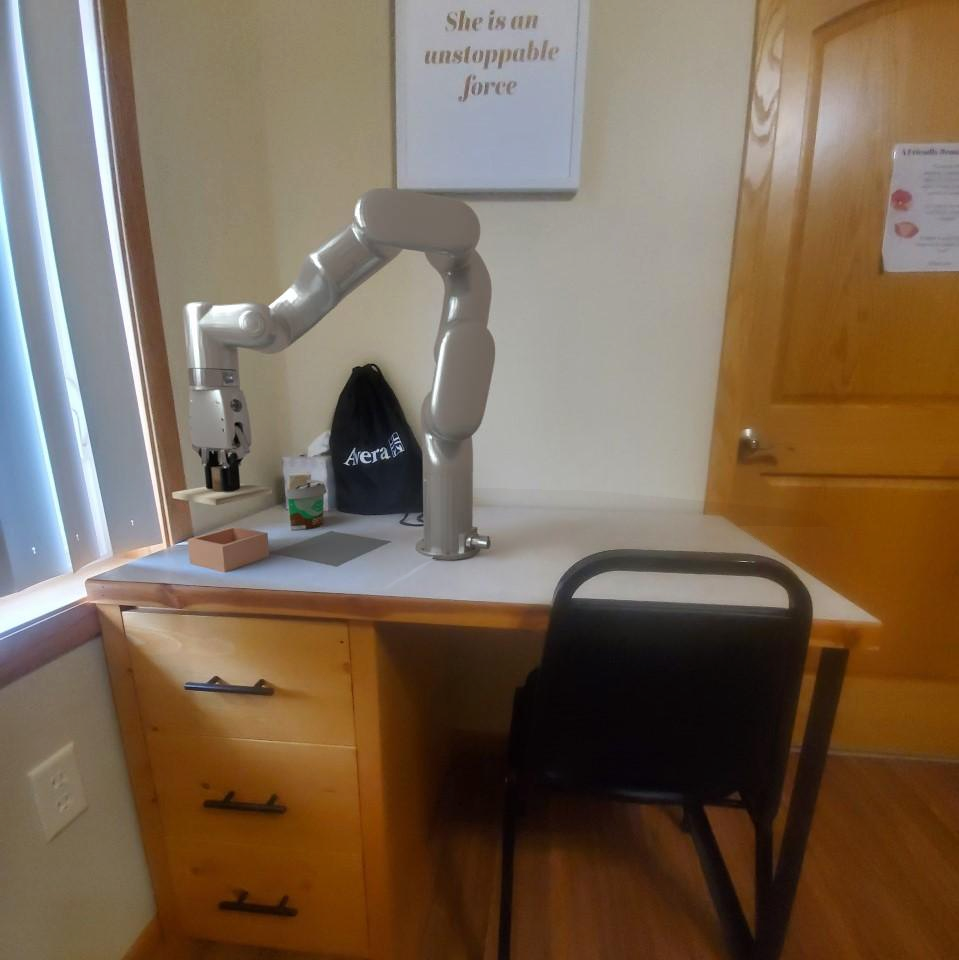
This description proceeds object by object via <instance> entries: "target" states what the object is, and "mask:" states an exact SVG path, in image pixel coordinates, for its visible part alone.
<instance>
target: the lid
mask: <svg viewBox="0 0 959 960" xmlns="http://www.w3.org/2000/svg"><path fill="white" fill-rule="evenodd" d="M220 468H223V466H217V467H212V468H211V472H212V484H213V489H207V488H206V486H201V487H194V488H190V489H184V490H183V489H182V490H179V491H173V492H171V495H172V499H176V500H181V501H182V500H183V501H188V502H194V503H197V504H198V503H199V504H204V505H210V506H220V505H224V504H225V505H226V504H230V503H235V502H238V501H243V500H249V499H252V498H258V497H262V496H266V495H271V494H273V488H272V487H269V486H268V487H267V486H260V485H253V484H246V483H240V489H237V490H232V491H226V492H225V491H222V489H221V477H220Z"/></svg>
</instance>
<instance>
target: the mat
mask: <svg viewBox="0 0 959 960" xmlns="http://www.w3.org/2000/svg"><path fill="white" fill-rule="evenodd" d="M389 543H392V541H390V540H386V539H385V540H384V539H380V538H374V537H368V536H362V535H355V534H350V533H346V532H345V533H344V532H338V531H332V530H329V531H327V532H324V533H321V534H318V535H315V536H312V537H310V538H307V539H304V540H301V541H298V542H296V543H292V544H290V545H288V546H284V547H282V548H279V549H275V550H273V551H271V552H270V551H269V554H270V553H271V554H275V555H279V556H283V557H284V556H285V557H289V558H294V559H298V560H303V561H309V562H313V563H319V564H323V565H326V566H327V565H328V566H332V567H339V566H341V565H342V564H345V563H347V562H350V561H352V560H354V559H356V558H358V557H360V556H362V555H365V554H367V553H370V552H372V551H374V550H376V549H379V548H381V547H383V546H385V545H387V544H389Z"/></svg>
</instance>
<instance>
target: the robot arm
mask: <svg viewBox="0 0 959 960" xmlns="http://www.w3.org/2000/svg"><path fill="white" fill-rule="evenodd" d="M480 237H481V223H480V220H479V217H478V215H477V214H476V212H475V210H474V209H473V208H472V207H471V206H470V205H469V204H467V203H465V202H464V201H461V200H459V199H456V198H454V197H449V196H442V195H435V194H428V193H422V192H417V191H410V190H405V189H397V188H396V189H395V188H387V187H386V188H384V187H381V188H372V189H370V190H369V189H368V190H367V191H366V192H364V193H363V194H362V195H360V197H359V198H357V200H356V203H355V205H354V211H353V218H352V219H351V220H350V221H349V222H348V223H346V224H345V225H343V227H341V228H340V229H338V230H337V231H336V232H335V233H334V234H332V235H331V236H330V237H328V238H327V239H325V240H324V241H323V242H322V243H320V244H319V245H317V247H315V248H314V249H312V250H311V251H310V252H309V253H308V255H306V257H305V259H304V260H303V263H302V265H301V267H300V270H299V272H298V275H297V277H296V278H295V279H294V281H293V283H292V284H291V285H290V286H289V287H288V288H287V290H285V291H284V292H283V293H282V294H281V295H280V296H279V297H277V298H276V299H275V300H274V301H273V302H272V303H271V304H268V305H266V304H265V303H261V302H256V301H244V302H236V303H235V302H234V303H225V304H223V303H217V302H210V301H209V302H208V301H191V302H188V303H186V304H185V305H184V306H183V309H182V318H183V319H182V320H183V331H184V342H185V351H186V352H185V353H186V363H187V364H186V365H187V376H188V386H189V387H188V388H189V398H188V425H189V436H190V439H191V443H192V444H191V448H192V449H193V450H194V451H195V452H196V453H197V454H198V455H199V457H200V459H201V465H202V466H203V467H204V476H205V477H204V479H205V487H206V488H207V489H213V484H212V472H211V468H212V467H217V466H223V468H220V477H221V489H222V491H225V492H226V491H232V490H237V489H240V484H241V479H240V468H239V467H241V466H242V460H244V458H245V457H246V456H247V455H249V454H250V453H251V449H250V447H251V446H252V443H253V442H252V429H251V422H250V414H249V409H248V404H247V399H246V396H245V394H244V393H245V392H244V390H241V383H240V381H241V379H240V363H239V355H238V354H239V352H238V351H239V350H238V348H241V349H247V350H251V351H254V352H255V351H256V352H259V353H262V354H266V355H273V354H274V355H275V354H277V353H281V352H283V351H285V350H286V349H287V348H288V347H290V346H292V345H293V344H295V343H296V342H297V341H298V340H299V339H300V338H302V337H303V336H304V335H306V334H307V333H308V332H310V331H311V329H313V328H314V327H315V326H316V325H317V324H318V323H319V322H321V321H322V320H323V318H325V317H326V316H327V315H328V314H329V313H330V312H332V311H333V310H334V309H335V308H336V307H337V306H338V305H339V304H340V303H341V302H342V301H343V300H344V299H345V298H346V297H348V296H349V295H350V294H351V293H353V292H354V291H355V290H356V289H358V288H359V287H360V286H361V285H363V284H364V283H365V282H366V281H367V280H369V279H370V278H372V277H373V276H374V275H376V274H377V273H378V272H379V271H381V270H382V269H383V268H384V267H385V266H387V265H388V264H389V263H391V262H392V261H393V260H394V259H395V258H397V257H398V256H399V255H400V254H401V252H402V251H403V250H407V251H414V252H421V253H424V255H425V258H426V260H427V261H428V263H429V264H430V265H431V266H432V268H434V269H435V271H436V272H437V273H438V274H439V275H440V277H441V279H442V282H443V287H444V295H443V301H442V309H441V310H442V311H441V315H440V321H439V325H438V331H437V336H436V340H435V342H434V346H433V358H434V362H435V367H434V373H433V377H432V378H433V379H432V385H431V390H430V391H429V392H428V393H427V394H426V396H425V397H424V399H423V401H422V404H421V409H420V429H421V443H422V444H421V447H422V449H421V451H422V506H423V508H422V509H423V510H422V511H423V513H422V516H423V517H422V519H423V522H422V523H423V527H422V528H423V538H422V539H420V540H418V541H417V542H416V543H415V552H417V553H418V554H420V555H422V556H425V557H430V558H431V559H432V560H440V561H451V560H452V561H455V560H462V559H467V558H471V557H473V556H475V555H477V554H479V552H480V551H481V549H482V550H489V549H490V548H491V539H490V536H488V535H480V534H479V533H478V527H477V526H473V523H474V522H473V517H474V515H473V511H474V510H473V509H474V508H473V500H474V498H473V497H474V496H473V492H474V490H473V488H474V484H473V483H474V480H473V479H474V449H473V448H474V445H473V435H475V433H476V432H477V431H478V429H480V428H481V427H480V426H481V425H482V422H483V420H484V416H485V413H486V412H485V411H486V407H487V402H488V397H489V393H490V392H489V391H490V388H491V383H492V378H493V372H494V367H495V362H496V346H495V345H496V344H495V340H494V337H493V335H492V333H491V331H490V330H489V328H488V323H489V318H490V311H491V305H492V304H491V303H492V293H493V292H492V291H493V290H492V289H493V288H492V281H491V276H490V273H489V270H488V268H487V265H486V264H485V263H486V262H485V261H484V260H483V258H482V256H481V255H480V253H479V252H478V251H477V250H476V249H477V246H478V243H479V241H480ZM229 453H230V455H229Z"/></svg>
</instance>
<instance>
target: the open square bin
mask: <svg viewBox="0 0 959 960" xmlns="http://www.w3.org/2000/svg"><path fill="white" fill-rule="evenodd" d="M187 547H188V557H189V564H190V565H194V566H196V567H197V566H198V567H202V568H205V569H210V570H215V571H217V572H222V573H227V572H230V571H232V570H235V569H238V568H240V567H243V566H247V565H249V564H252V563H255V562H257V561H260V560H263V559H266V558H269V557H270V549H269V548H270V546H269V534H268V532H265V531H264V532H263V531H259V530H256V529H249V528H244V527H243V528H242V527H238V526H232V527H228V528H227V527H226V528H224V529H220V530H216V531H213V532H209V533H206V534H202V535H198V536H194V537H191V538H187Z"/></svg>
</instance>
